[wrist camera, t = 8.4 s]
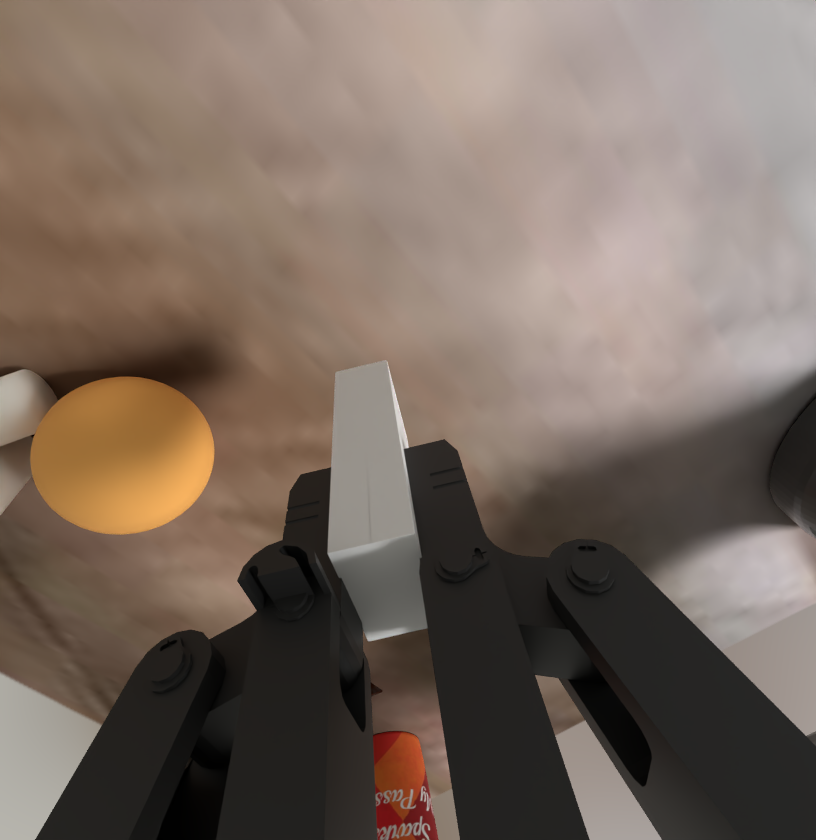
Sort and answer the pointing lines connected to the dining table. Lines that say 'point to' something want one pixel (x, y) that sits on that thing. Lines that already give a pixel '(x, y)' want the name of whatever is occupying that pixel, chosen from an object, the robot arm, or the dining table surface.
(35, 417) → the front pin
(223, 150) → the dining table surface
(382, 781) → the coffee cup
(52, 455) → the ball
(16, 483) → the pin
